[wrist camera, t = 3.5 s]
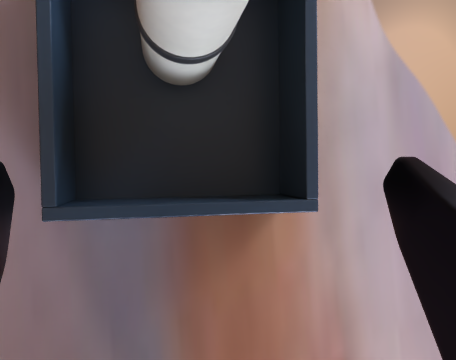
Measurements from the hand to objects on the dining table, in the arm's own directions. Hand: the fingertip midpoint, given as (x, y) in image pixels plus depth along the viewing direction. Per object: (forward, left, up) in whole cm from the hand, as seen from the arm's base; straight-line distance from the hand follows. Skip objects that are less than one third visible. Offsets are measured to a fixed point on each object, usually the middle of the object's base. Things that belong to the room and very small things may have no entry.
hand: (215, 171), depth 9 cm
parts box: (+4, +2, -13) cm, 14 cm away
